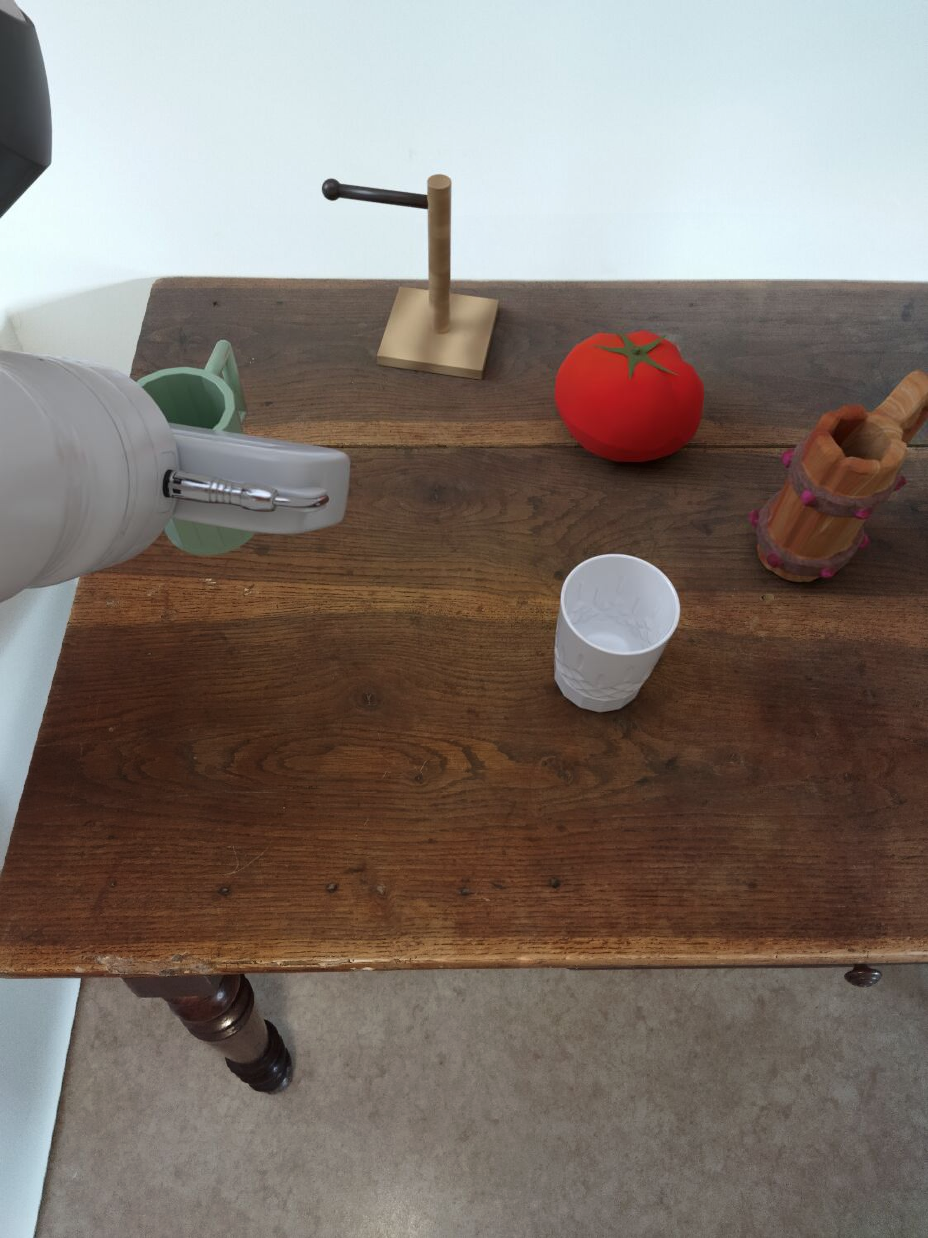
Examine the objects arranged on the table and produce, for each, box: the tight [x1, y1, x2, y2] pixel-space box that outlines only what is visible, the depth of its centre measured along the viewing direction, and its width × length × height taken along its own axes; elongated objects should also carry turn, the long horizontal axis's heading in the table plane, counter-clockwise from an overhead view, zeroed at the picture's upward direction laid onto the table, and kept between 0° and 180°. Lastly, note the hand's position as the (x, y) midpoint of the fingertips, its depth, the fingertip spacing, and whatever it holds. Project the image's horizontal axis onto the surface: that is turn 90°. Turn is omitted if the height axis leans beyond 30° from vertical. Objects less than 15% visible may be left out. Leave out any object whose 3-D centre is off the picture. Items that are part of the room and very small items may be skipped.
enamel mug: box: [135, 339, 257, 557], centre depth 51 cm, size 10×6×9 cm, turn 170°
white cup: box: [553, 553, 681, 713], centre depth 63 cm, size 8×8×10 cm
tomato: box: [554, 327, 705, 463], centre depth 75 cm, size 11×13×10 cm
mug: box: [748, 369, 928, 583], centre depth 68 cm, size 15×8×15 cm, turn 131°
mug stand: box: [321, 173, 500, 380], centre depth 79 cm, size 15×10×16 cm, turn 80°
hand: (197, 452), depth 49 cm, fingers closed on enamel mug, 6 cm apart
